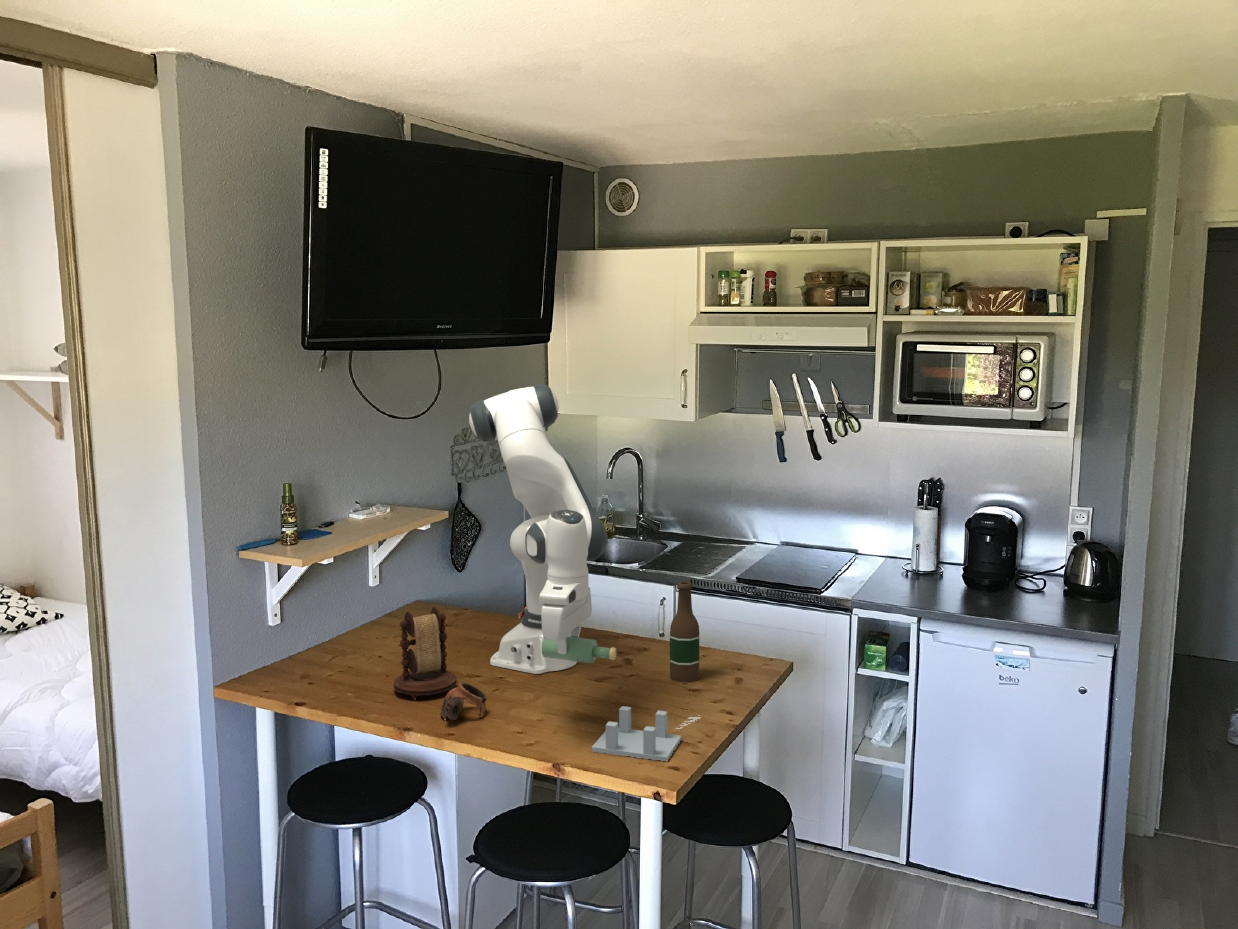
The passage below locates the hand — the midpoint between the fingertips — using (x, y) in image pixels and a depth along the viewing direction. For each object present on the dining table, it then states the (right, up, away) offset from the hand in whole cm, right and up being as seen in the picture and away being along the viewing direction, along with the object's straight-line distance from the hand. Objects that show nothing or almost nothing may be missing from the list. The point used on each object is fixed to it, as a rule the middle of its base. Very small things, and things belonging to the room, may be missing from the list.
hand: (568, 648), depth 215 cm
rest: (+15, -18, -10) cm, 25 cm away
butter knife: (+22, -18, -4) cm, 29 cm away
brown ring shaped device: (-24, -17, +6) cm, 30 cm away
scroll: (-36, -14, +23) cm, 45 cm away
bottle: (+2, -3, 0) cm, 4 cm away
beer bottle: (+27, -13, +30) cm, 43 cm away
